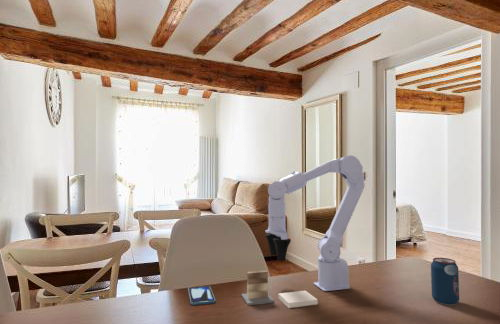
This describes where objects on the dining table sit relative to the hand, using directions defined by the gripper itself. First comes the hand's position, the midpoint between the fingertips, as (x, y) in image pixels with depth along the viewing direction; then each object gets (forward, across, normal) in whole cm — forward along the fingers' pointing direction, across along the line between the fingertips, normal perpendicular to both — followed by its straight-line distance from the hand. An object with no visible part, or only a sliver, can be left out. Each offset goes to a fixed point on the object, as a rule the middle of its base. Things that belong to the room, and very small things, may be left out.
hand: (277, 257), depth 113 cm
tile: (+9, +11, +1) cm, 14 cm away
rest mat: (+9, +10, -10) cm, 17 cm away
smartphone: (+10, +2, -26) cm, 28 cm away
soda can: (+10, +27, +42) cm, 51 cm away
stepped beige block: (+9, +10, -10) cm, 17 cm away
